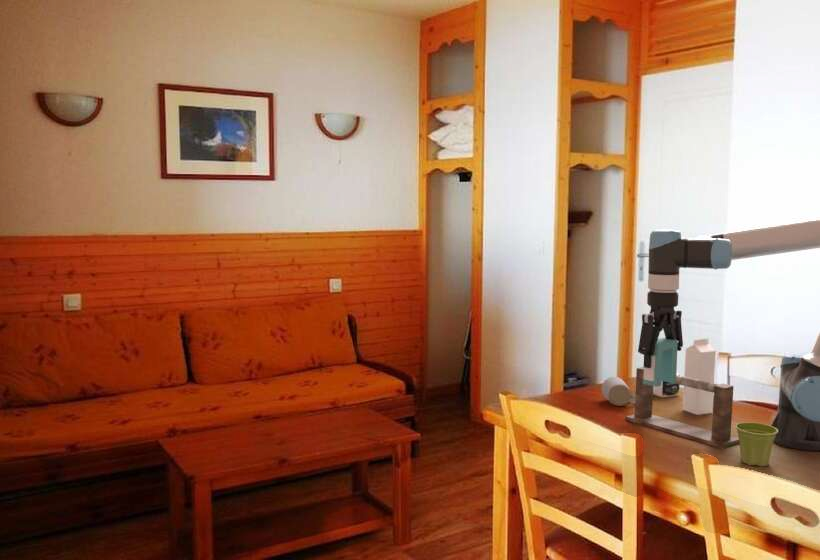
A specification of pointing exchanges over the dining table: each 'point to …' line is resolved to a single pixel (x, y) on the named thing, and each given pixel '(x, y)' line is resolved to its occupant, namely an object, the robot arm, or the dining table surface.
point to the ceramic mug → (617, 391)
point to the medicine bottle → (666, 389)
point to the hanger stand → (716, 437)
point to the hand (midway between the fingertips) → (659, 377)
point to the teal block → (664, 362)
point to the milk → (699, 377)
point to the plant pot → (755, 442)
